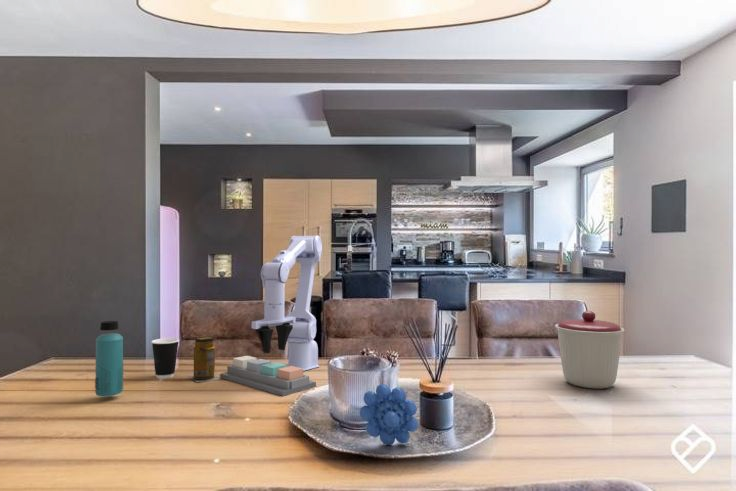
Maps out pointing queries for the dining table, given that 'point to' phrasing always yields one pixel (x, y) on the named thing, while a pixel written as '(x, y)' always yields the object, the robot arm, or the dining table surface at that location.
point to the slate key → (257, 365)
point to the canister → (589, 351)
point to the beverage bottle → (109, 361)
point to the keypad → (267, 381)
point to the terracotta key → (290, 373)
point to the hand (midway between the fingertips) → (274, 351)
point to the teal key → (272, 368)
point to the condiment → (204, 360)
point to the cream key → (242, 361)
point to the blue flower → (389, 414)
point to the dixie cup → (165, 356)
